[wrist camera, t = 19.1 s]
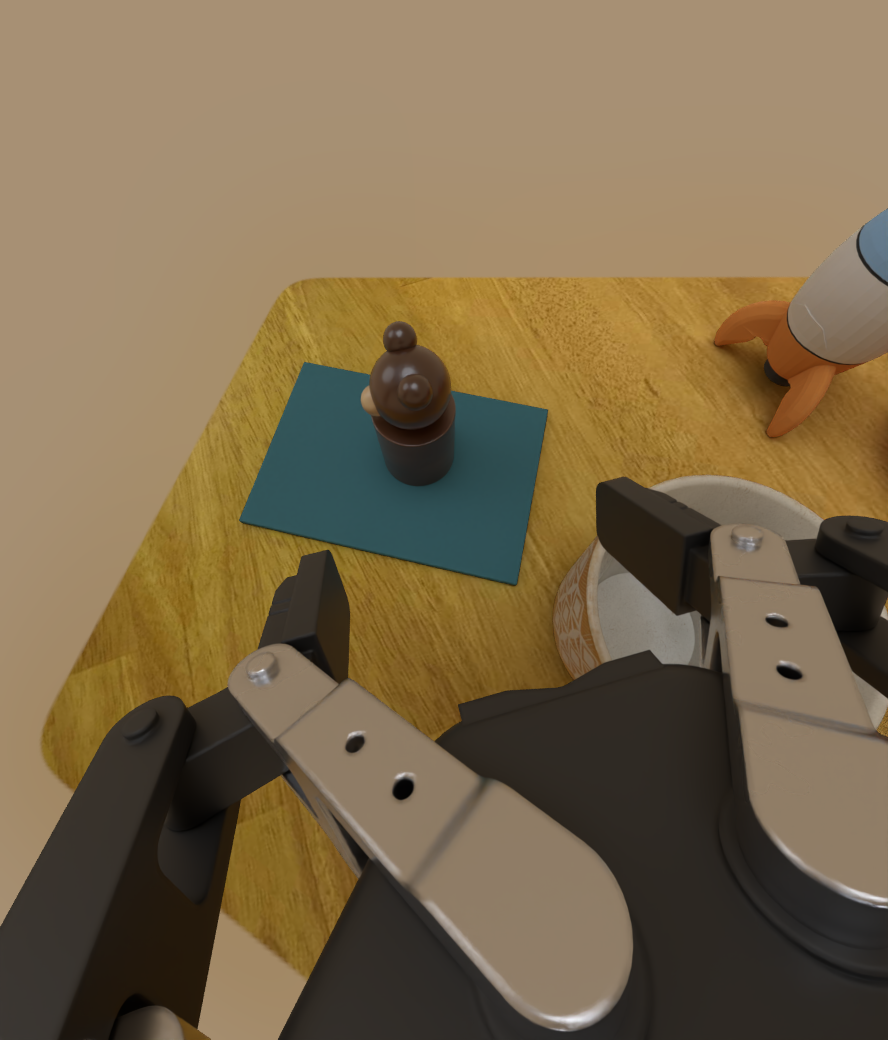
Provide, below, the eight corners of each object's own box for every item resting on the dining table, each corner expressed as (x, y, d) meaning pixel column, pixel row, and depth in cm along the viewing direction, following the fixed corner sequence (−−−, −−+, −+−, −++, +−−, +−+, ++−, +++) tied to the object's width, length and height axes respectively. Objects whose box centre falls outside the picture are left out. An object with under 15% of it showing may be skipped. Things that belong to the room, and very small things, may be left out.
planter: (540, 527, 30) (587, 461, 20) (720, 546, 29) (862, 488, 19) (532, 721, 26) (587, 760, 16) (741, 746, 25) (933, 804, 15)
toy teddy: (388, 494, 30) (358, 410, 20) (374, 433, 32) (339, 325, 21) (462, 477, 30) (470, 384, 20) (443, 417, 32) (442, 303, 22)
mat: (241, 522, 30) (238, 520, 29) (305, 365, 34) (304, 361, 34) (515, 585, 28) (516, 584, 28) (546, 412, 33) (548, 409, 32)
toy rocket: (824, 351, 36) (1123, 196, 21) (799, 465, 34) (1100, 388, 19) (714, 309, 35) (938, 121, 20) (684, 424, 34) (901, 312, 19)
